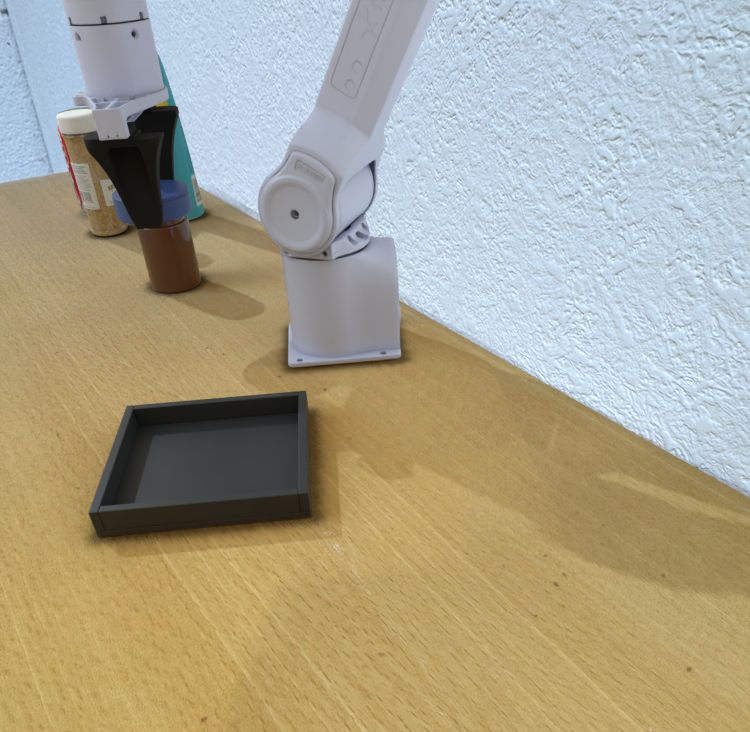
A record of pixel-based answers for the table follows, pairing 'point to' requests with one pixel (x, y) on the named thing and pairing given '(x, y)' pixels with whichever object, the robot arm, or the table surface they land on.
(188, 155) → the tube
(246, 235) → the table surface
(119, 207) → the lid
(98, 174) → the sprinkles bottle
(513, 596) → the table surface
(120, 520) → the tray
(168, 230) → the jar
